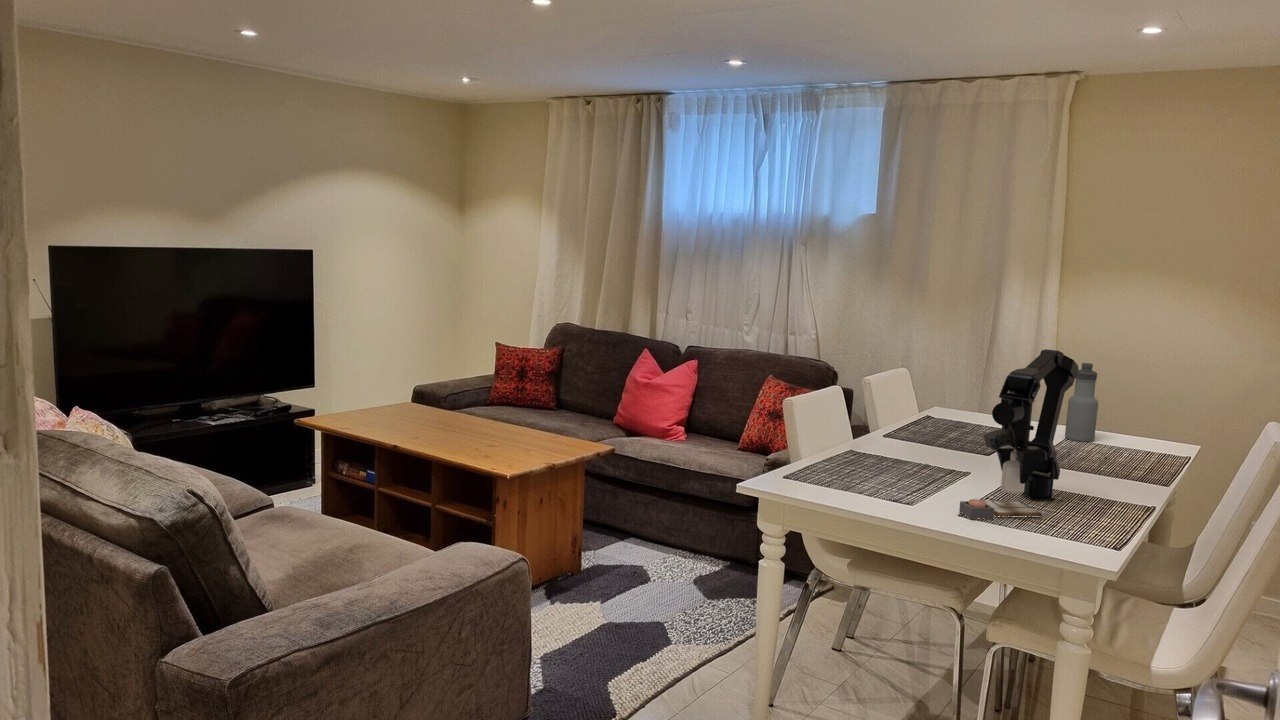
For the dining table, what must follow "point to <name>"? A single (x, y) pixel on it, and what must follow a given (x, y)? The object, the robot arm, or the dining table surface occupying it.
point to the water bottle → (1082, 407)
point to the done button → (976, 503)
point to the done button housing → (976, 511)
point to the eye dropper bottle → (1012, 476)
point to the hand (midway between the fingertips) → (1013, 479)
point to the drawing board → (1012, 508)
